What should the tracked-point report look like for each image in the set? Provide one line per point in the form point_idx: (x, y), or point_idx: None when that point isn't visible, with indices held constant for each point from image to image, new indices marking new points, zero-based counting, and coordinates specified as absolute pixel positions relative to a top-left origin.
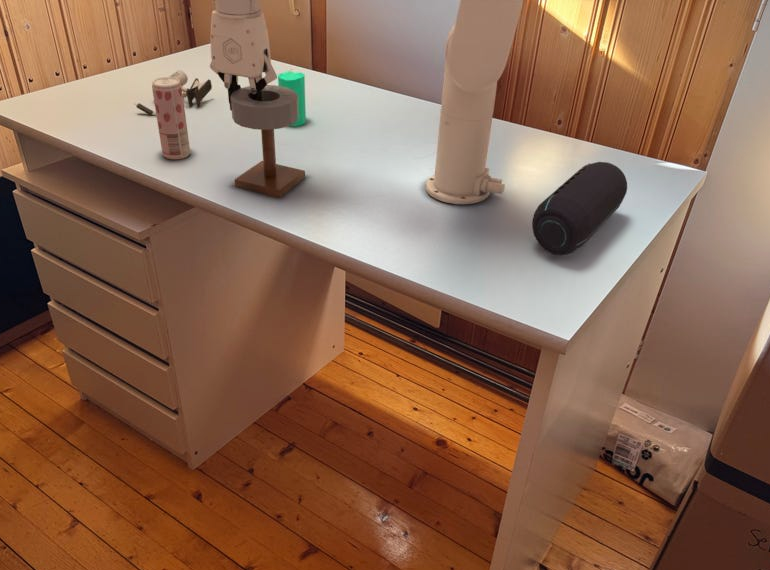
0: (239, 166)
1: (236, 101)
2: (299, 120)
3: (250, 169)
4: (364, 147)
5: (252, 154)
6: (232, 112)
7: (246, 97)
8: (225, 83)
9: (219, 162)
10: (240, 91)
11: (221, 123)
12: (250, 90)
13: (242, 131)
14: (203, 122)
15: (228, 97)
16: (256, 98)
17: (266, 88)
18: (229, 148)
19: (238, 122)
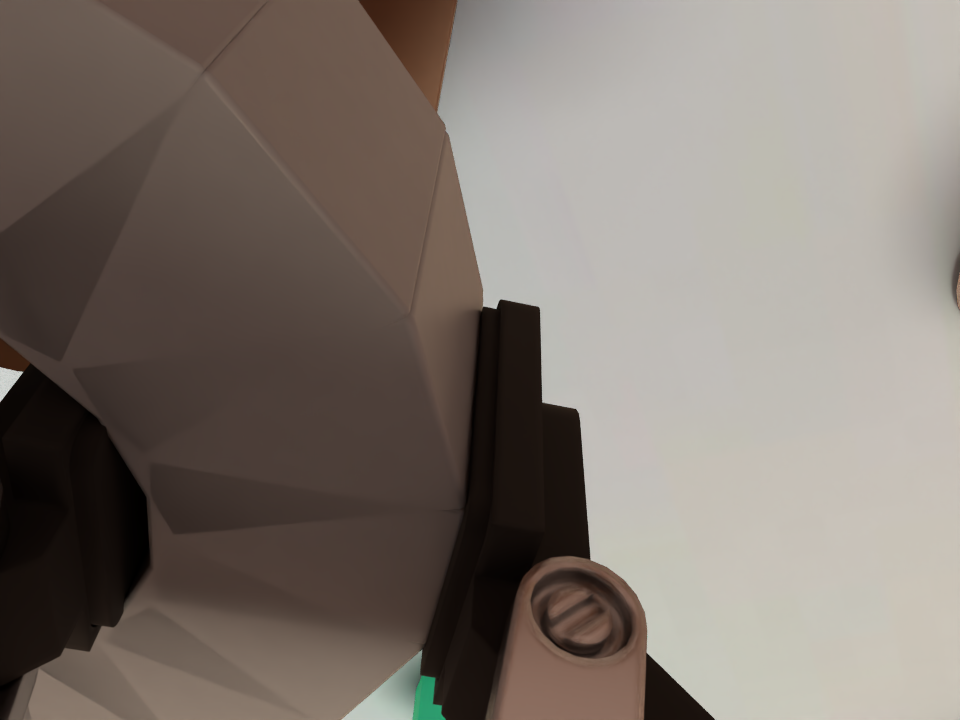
0: (572, 200)
1: (99, 49)
2: (428, 691)
3: (429, 84)
4: None
5: (547, 370)
6: (399, 120)
7: (77, 348)
8: (622, 650)
9: (726, 222)
10: (352, 553)
11: (820, 630)
12: (226, 611)
13: (688, 582)
14: (919, 625)
15: (581, 465)
16: (2, 422)
17: (74, 699)
18: (709, 408)
19: None
